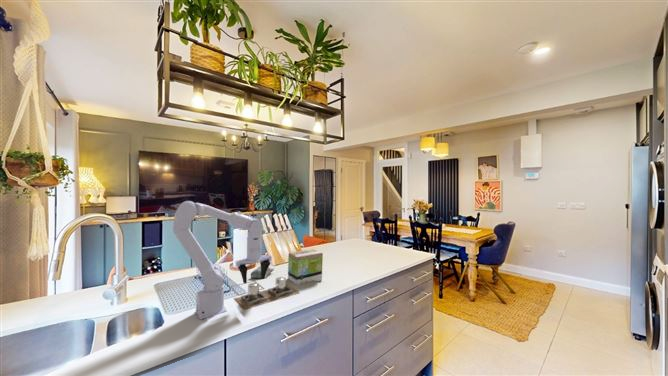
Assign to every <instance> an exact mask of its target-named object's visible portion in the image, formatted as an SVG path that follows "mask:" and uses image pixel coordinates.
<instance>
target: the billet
mask: <svg viewBox="0 0 668 376" xmlns="http://www.w3.org/2000/svg"><path fill="white" fill-rule="evenodd" d="M286 283H287V278H286V277H284V276H278V277H276V278H275V287H276V293H277V294H278V293H282V292H286V285H287V284H286Z"/></svg>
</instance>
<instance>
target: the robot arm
mask: <svg viewBox="0 0 668 376" xmlns="http://www.w3.org/2000/svg"><path fill="white" fill-rule="evenodd" d="M196 216H197V217H205V216H208V217H212V218H216V219H219V220H223V221H226V222H227V223H228V225H229V226H230V227H233V228H237V229H239V230H242V231H247V237H246V258H243V259H242V258H241V259H240V260H236V261H235V267H237V269H238V270H239V272H240V275H241V279H242V282H243V283H246V284H248V283H247V281H248V279H247V277H248V276H247V275H248V267H247V265H252V264H258V263H260V267H261V278H260V279H262V280H265V279H266V278H265V275H266V271H267V269H268V267H269V268H270V265H271V262H272V255H269V254H268V255H262V242H263V241H262V239H263V238H262V232H263V231H264V230H263V229H264V225H263V223H262V222H261V220H259V219H257V218H255V217H253V216H252V215H250V216H248V215H246V214H243V212H241V211H238V212H237V211H235V212H232V213H230V212H226V211H224V210H223V209H222V210H221V209H218V208H215V207H213V206H210V205H209V204H208V205H207V204H205V203H200V202H194V201H192V200H185V201H183V202H181V203H180V204H179V206H178V207H177V209H176V210H175V213H174V219H173V226H172V232H173V234H174V236H175V237H176V238H177V240H178V241H179V242H180V244H181V245H182V248H183V249H184V250H185V251H186V253H187V255H188V256H189V258H190V259H191V260H192V262H193V263H194V265H195V266H196V268H197V270H199V273H200V275H201V278H202V279H203V281H204V286H203V287H202V288H203V289H202V290H199V291H197V292H196V295H195V313H196V314H197V316H198V319H199V320H203V319H207V318H209V317H211V316H212V317H213V316H217V315H219V314H222V313H226V312H228V310H227V308H226V307H225V306H224V302H225V301H224V298H225V297H224V296H225V295H224V294H225V293H224V291H225V289H224V287H225V286H224V277H223V275H222V271H221V269H219V268H218V267H216V266H215V265H214V264H213V262H212V261H211V260H210V258H209V257H208V256H207V254H206V252H205V250H204V249H203V248H202V246H201V245H200V244H199V242H198V240H197V238H196V237H195V235H194V234H193V233H192V231H191V230H190V227H191V226H190V225H191V223H192V222H193V220H194V219H195V217H196ZM243 283H242V284H243Z"/></svg>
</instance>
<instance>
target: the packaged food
mask: <svg viewBox="0 0 668 376" xmlns="http://www.w3.org/2000/svg"><path fill="white" fill-rule="evenodd" d="M274 271H275V268H271V267H270V266H269V267H268V269H267V271H266V275H265V279H266V278H267V277H268V276H269V275H270V274H271V273H272V272H274ZM250 278H251V279H262V278H261V266H259V267H257V268H256V269H254V270H253V271H252V272H251V273H250Z"/></svg>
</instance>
